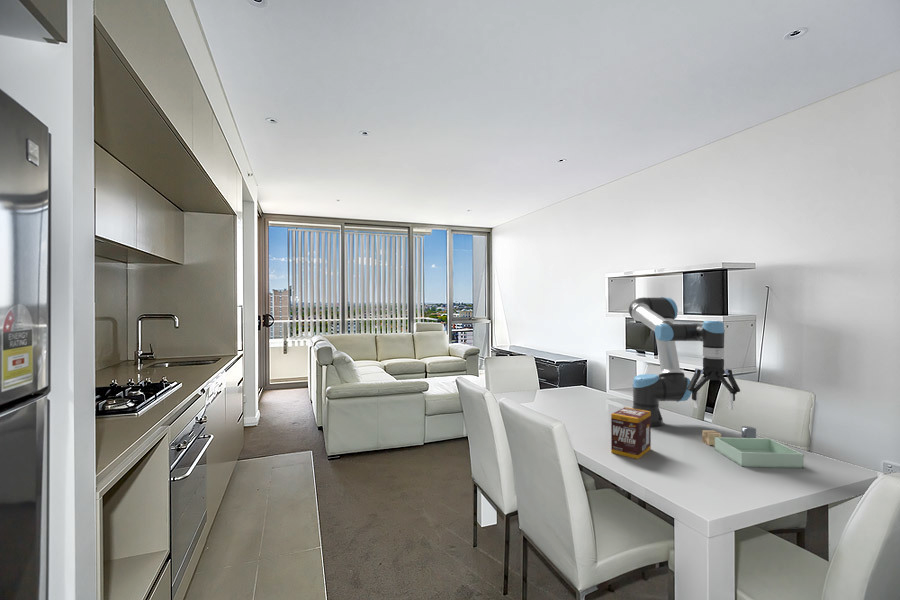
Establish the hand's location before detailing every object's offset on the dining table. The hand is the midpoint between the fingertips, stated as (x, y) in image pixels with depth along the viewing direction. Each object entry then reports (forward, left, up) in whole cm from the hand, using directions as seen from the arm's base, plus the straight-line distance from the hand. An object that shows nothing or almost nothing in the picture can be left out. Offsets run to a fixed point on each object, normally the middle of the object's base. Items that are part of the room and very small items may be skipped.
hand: (713, 408), depth 176 cm
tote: (+14, +8, -15) cm, 23 cm away
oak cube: (-2, 0, -15) cm, 15 cm away
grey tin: (-2, +15, -15) cm, 22 cm away
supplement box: (+9, -37, -16) cm, 41 cm away
